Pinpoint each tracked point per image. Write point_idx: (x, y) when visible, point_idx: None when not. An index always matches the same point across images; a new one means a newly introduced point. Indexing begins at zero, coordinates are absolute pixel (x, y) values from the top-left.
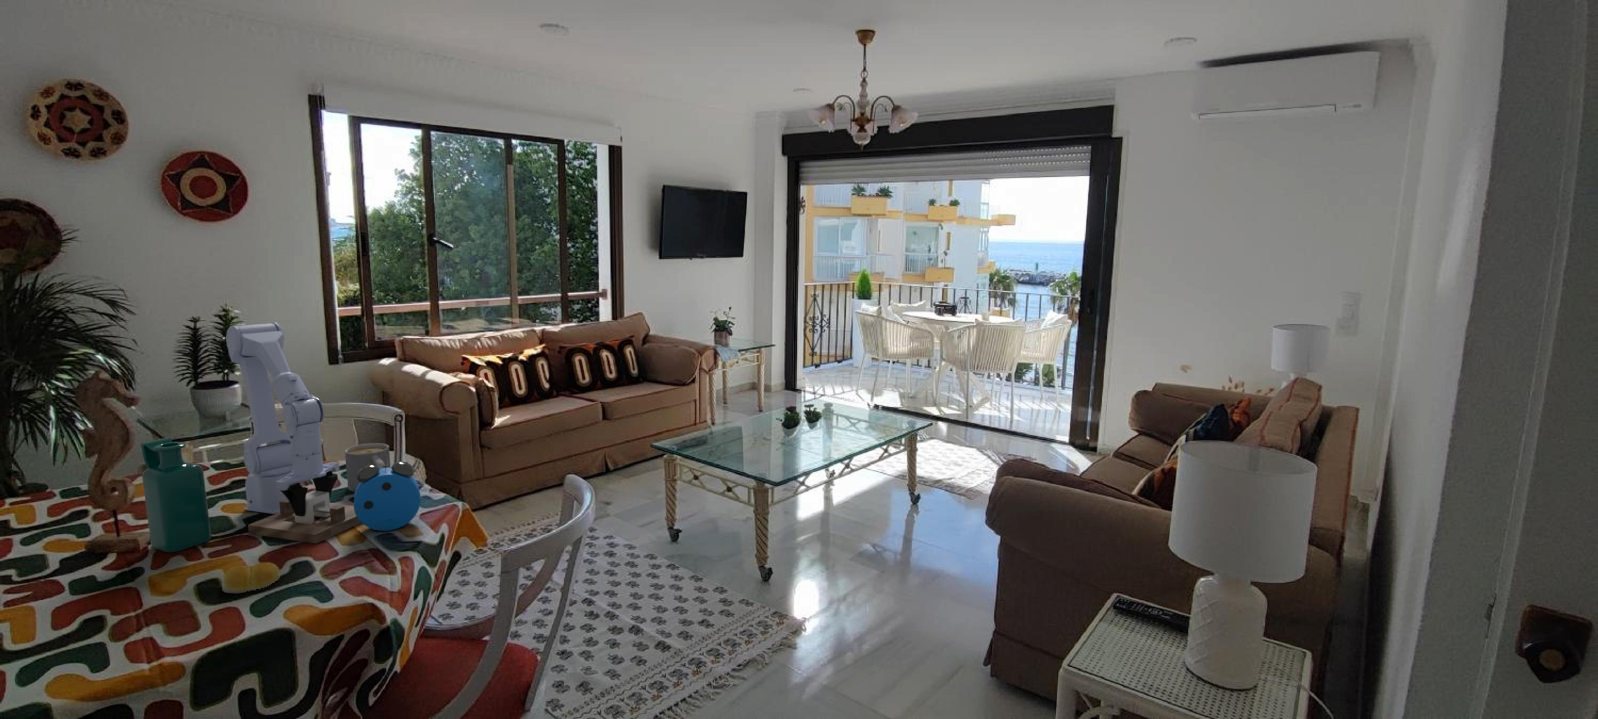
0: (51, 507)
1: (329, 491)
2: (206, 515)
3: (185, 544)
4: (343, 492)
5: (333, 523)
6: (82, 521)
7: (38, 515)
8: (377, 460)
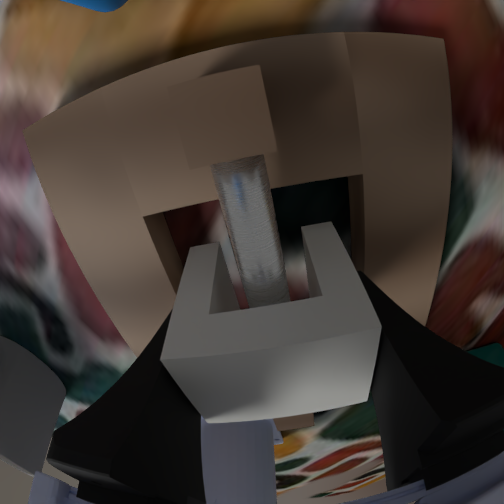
0: (355, 485)
1: (148, 367)
2: None
3: (493, 350)
4: (77, 387)
5: (286, 77)
6: (384, 465)
7: (375, 478)
8: None
